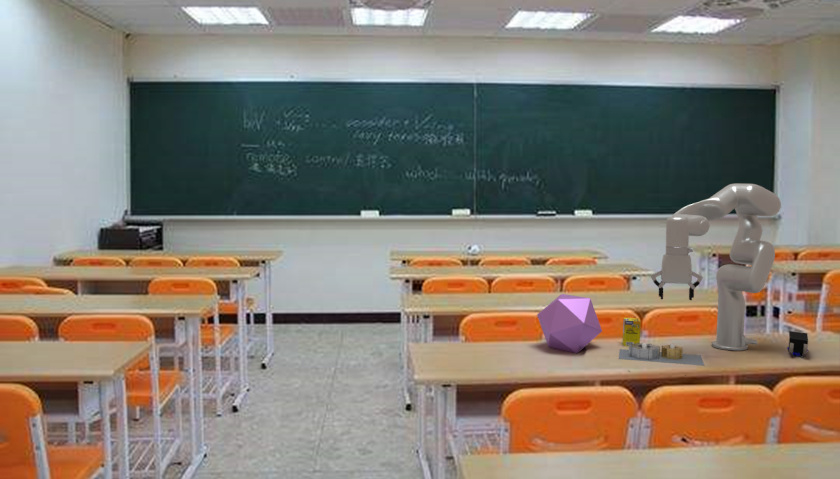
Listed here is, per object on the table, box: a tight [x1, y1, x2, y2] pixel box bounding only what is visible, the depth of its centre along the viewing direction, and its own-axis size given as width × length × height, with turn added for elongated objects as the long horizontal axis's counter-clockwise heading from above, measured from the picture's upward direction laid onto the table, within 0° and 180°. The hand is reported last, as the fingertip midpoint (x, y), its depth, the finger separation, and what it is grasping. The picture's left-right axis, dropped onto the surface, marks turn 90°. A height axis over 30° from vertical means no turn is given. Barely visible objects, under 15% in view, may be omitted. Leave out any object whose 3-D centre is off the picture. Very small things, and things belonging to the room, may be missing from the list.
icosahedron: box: [536, 293, 603, 354], centre depth 272 cm, size 22×21×24 cm
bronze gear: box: [660, 344, 684, 360], centre depth 256 cm, size 7×7×4 cm
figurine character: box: [787, 330, 809, 359], centre depth 266 cm, size 7×8×15 cm
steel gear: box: [628, 342, 661, 360], centre depth 257 cm, size 10×10×4 cm
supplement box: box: [622, 317, 642, 347], centre depth 274 cm, size 6×6×11 cm
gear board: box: [618, 342, 705, 367], centre depth 256 cm, size 28×15×6 cm, turn 73°
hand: (676, 299), depth 258 cm, fingers open, 9 cm apart
